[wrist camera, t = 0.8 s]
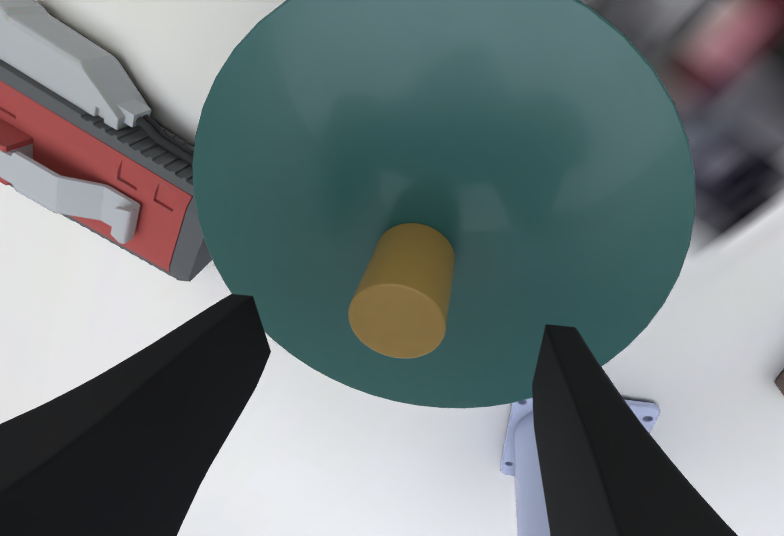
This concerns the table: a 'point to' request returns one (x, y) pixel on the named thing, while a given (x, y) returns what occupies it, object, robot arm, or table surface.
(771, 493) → the table surface
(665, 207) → the tin lid
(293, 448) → the table surface
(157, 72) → the table surface
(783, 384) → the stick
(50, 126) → the walkie-talkie
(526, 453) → the robot arm
